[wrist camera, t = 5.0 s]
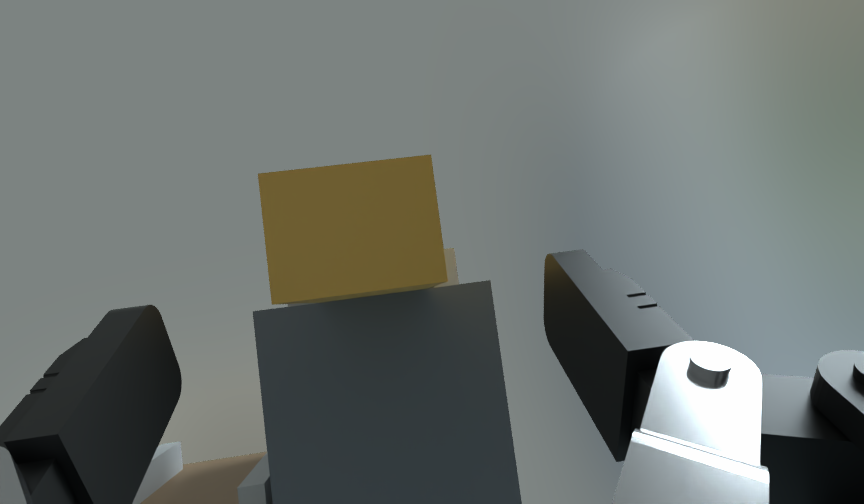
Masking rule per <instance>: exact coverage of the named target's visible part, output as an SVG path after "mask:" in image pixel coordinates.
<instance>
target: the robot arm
mask: <svg viewBox="0 0 864 504" xmlns="http://www.w3.org/2000/svg"><path fill="white" fill-rule="evenodd" d="M544 325H545V331H546V336H547V339H548V342H549V344H550V346H551V348H552V350H553V352H554V353H555V355H556V357H557V359H558V360H559V362H560V364H561V366H562V367H563V369H564V371H565V373H566V374H567V376H568V378H569V379H570V381H571V383H572V385H573V387H574V388H575V390H576V392H577V394H578V395H579V397H580V399H581V400H582V402H583V404H584V406H585V407H586V409H587V411H588V413H589V415H590V416H591V418H592V420H593V422H594V423H595V425H596V427H597V429H598V430H599V432H600V434H601V435H602V437H603V439H604V441H605V442H606V444H607V446H608V448H609V450H610V451H611V453H612V455H613V456H614V458H615V460H616V462H619V461H624V465H623V468H622V472H621V475H620V478H619V481H618V485H617V488H616V491H615V495H614V498H613V501H612V504H864V351H857V350H841V351H834V352H831V353H828V354H826V355H824V356H823V357H822V358H821V359H820V360H819V363H818V366H817V369H816V373H815V376H814V378H811V377H796V376H782V375H768V374H761V373H760V371H759V370H758V368H757V367H756V365H755V364H754V363H753V362H752V361H751V360H750V359H748V358H747V357H745V356H744V355H742V354H741V353H739V352H737V351H735V350H733V349H731V348H728V347H725V346H722V345H718V344H714V343H709V342H702V341H694V340H693V339H692V338H691V337H690V336H689V335H688V334H687V333H686V332H685V331H684V330H683V329H682V328H681V327H680V326H679V325H678V324H677V323H676V322H675V321H674V320H673V319H672V318H671V317H670V316H669V315H668V314H667V313H666V312H665V311H664V310H663V309H662V308H661V307H660V306H659V307H657V303H656V302H655V301H654V300H653V299H652V298H651V297H650V296H649V295H646V292H645V291H644V290H643V289H642V288H641V287H640V286H639V285H638V284H637V283H636V282H635V281H634V280H633V279H631V278H629V277H627V276H625V275H623V274H621V273H619V272H617V271H615V270H613V269H604V270H603V269H602V268H601V267H600V266H599V265H598V264H597V263H596V262H595V261H594V260H593V259H592V258H591V257H590V255H589V254H587V252H586V251H584V250H574V251H567V252H559V253H551V254H548V255H547V256H546V259H545V273H544ZM180 393H181V372H180V368H179V365H178V362H177V360H176V356H175V353H174V351H173V348H172V345H171V342H170V339H169V336H168V334H167V331H166V328H165V325H164V322H163V320H162V317H161V314H160V312H159V310H158V309H157V308H156V307H155V306H153V305H146V306H139V307H130V308H123V309H115V310H111V311H109V312H108V313H107V314H106V315H105V316H104V318H103V319H102V320H101V321H100V323H99V324H98V325H97V326H96V328H95V329H94V330H93V331H92V333H91V334H90V335H89V337H88V338H84V339H82V340H81V341H80V342H78V343H77V344H75V345H74V346H73V347H71V348H70V349H68V350H67V351H65V352H64V353H63V354H61V355H60V356H59V357H58V358H57V359H56V360H55V361H54V363H53V364H52V365H51V366H50V367H49V369H48V370H47V371H46V372H45V373H44V378H41V379H40V380H39V381H38V382H37V383H36V384H35V385H34V386H33V388H32V389H31V390H30V394H29V395H26V396H25V397H24V398H23V399H22V401H21V402H20V403H19V404H18V405H17V407H16V408H15V409H14V410H13V411H12V413H11V414H10V415H9V416H8V417H7V418H6V420H5V421H4V422H3V423H2V424H1V426H0V504H132V503H133V501H134V499H135V496H136V494H137V492H138V490H139V487H140V485H141V483H142V481H143V478H144V476H145V474H146V472H147V470H148V467H149V465H150V463H151V461H152V458H153V456H154V454H155V452H156V449H157V447H158V445H159V442H160V440H161V438H162V436H163V433H164V431H165V429H166V427H167V425H168V422H169V420H170V418H171V416H172V413H173V411H174V409H175V407H176V405H177V402H178V400H179V397H180Z"/></svg>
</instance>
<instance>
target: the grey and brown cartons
mask: <svg viewBox="0 0 864 504" xmlns="http://www.w3.org/2000/svg"><path fill="white" fill-rule="evenodd" d="M444 255H445V263H446V270H447V278H448V282H445V283H442V284H439V285H436V286H433V287H430V288H427V289H420V290H413V291H405V292H398V293H390V294H382V295H375V296H367V297H360V298H352V299H344V300H337V301H329V302H322V303H297V304H288V307H284V308H276V309H268V310H261V311H254V312H253V319H254V328H255V337H256V347H257V357H258V367H259V376H260V385H261V396H262V405H263V415H264V423H265V434H266V444H267V452H262V453H256V454H249V455H242V456H236V457H230V458H223V459H216V460H210V461H203V462H196V463H190V464H182V453H181V443H180V442H174V443H167V444H162V445H160V446H159V447H157V449H156V452H155V454H154V456H153V458H152V461H151V463H150V465H149V467H148V470H147V472H146V474H145V476H144V478H143V481H142V483H141V485H140V487H139V490H138V492H137V494H136V496H135V499H134V501H133V503H132V504H522V502H521V495H520V489H519V481H518V475H517V467H516V460H515V453H514V446H513V439H512V431H511V424H510V417H509V411H508V403H507V396H506V389H505V382H504V375H503V368H502V360H501V353H500V346H499V339H498V332H497V325H496V318H495V311H494V304H493V297H492V290H491V282H490V281H482V282H474V283H466V284H459V282H458V274H457V267H456V260H455V252H454V248H450V249H444Z"/></svg>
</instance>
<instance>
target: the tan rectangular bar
mask: <svg viewBox="0 0 864 504" xmlns="http://www.w3.org/2000/svg"><path fill="white" fill-rule="evenodd" d="M258 179H259V188H260V197H261V207H262V216H263V225H264V234H265V244H266V254H267V263H268V272H269V281H270V291H271V300H272V304H297V303H322V302H329V301H337V300H344V299H352V298H360V297H367V296H375V295H382V294H390V293H398V292H405V291H413V290H420V289H427V288H430V287H433V286H436V285H439V284H442V283H445V282H448V278H447V270H446V263H445V255H444V249H443V241H442V233H441V226H440V218H439V211H438V203H437V196H436V189H435V182H434V174H433V166H432V159H431V155H424V156H414V157H406V158H396V159H387V160H379V161H369V162H360V163H352V164H342V165H333V166H324V167H315V168H306V169H296V170H288V171H279V172H269V173H261V174H258Z"/></svg>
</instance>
